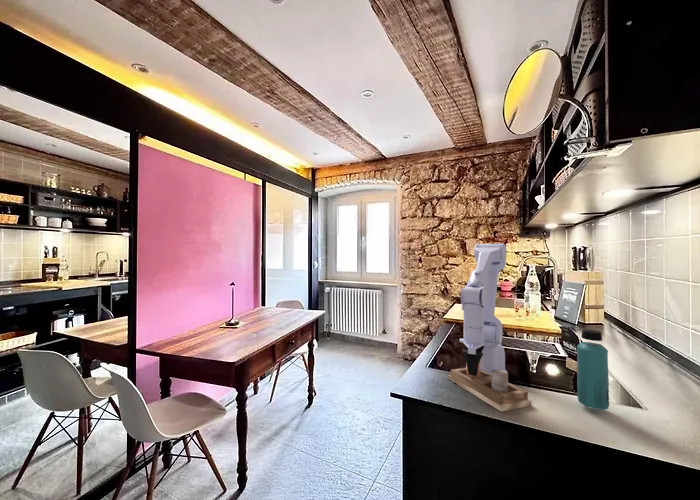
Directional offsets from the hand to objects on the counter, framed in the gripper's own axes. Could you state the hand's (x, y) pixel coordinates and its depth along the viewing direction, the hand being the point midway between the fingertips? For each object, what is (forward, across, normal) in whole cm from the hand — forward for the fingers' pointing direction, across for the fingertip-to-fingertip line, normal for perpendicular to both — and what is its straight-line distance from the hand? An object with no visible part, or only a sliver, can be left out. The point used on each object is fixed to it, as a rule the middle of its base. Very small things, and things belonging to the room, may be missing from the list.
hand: (473, 371), depth 92 cm
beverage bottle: (+4, +3, +28) cm, 29 cm away
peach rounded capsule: (+3, 0, 0) cm, 3 cm away
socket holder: (+4, +4, +4) cm, 6 cm away
